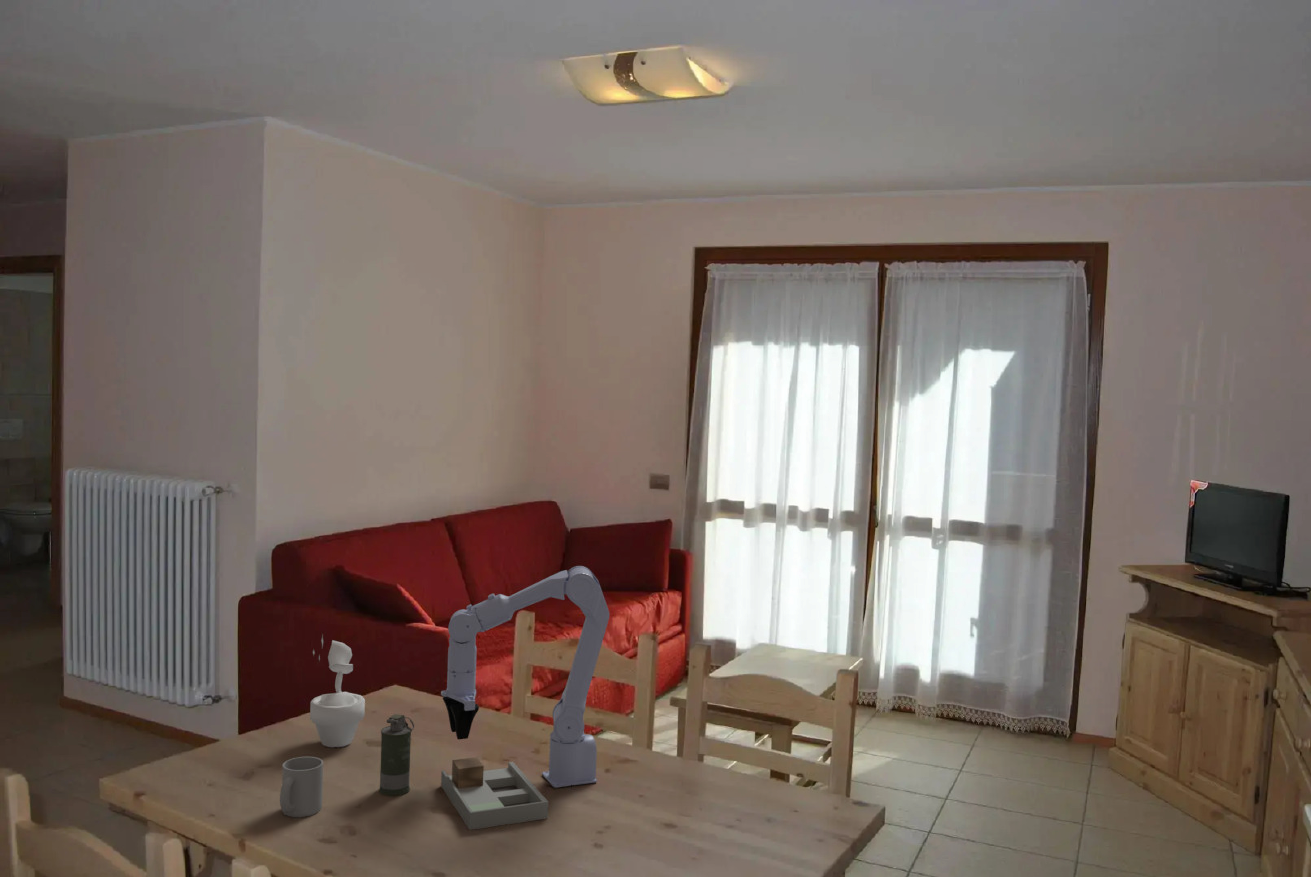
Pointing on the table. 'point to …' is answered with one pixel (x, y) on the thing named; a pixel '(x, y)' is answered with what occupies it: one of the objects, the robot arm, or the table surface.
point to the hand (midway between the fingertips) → (459, 734)
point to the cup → (302, 786)
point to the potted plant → (337, 703)
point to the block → (467, 772)
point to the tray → (497, 799)
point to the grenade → (395, 756)
